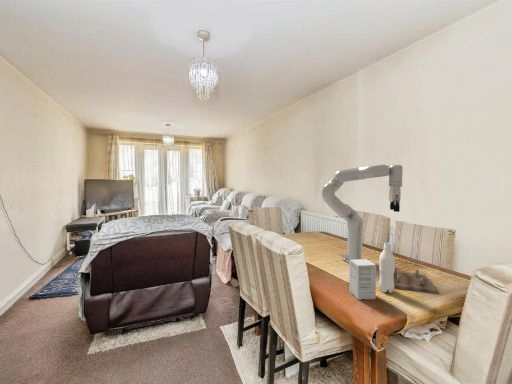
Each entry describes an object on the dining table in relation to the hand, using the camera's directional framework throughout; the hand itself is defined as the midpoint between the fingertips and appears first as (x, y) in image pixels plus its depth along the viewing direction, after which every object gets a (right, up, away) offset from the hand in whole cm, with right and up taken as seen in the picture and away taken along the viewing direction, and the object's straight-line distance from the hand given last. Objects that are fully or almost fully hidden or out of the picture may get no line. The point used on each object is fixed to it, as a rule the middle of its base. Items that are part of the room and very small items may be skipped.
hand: (394, 210), depth 163 cm
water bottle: (-23, -39, -34) cm, 56 cm away
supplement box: (-37, -40, -38) cm, 66 cm away
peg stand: (-5, -38, -23) cm, 45 cm away
